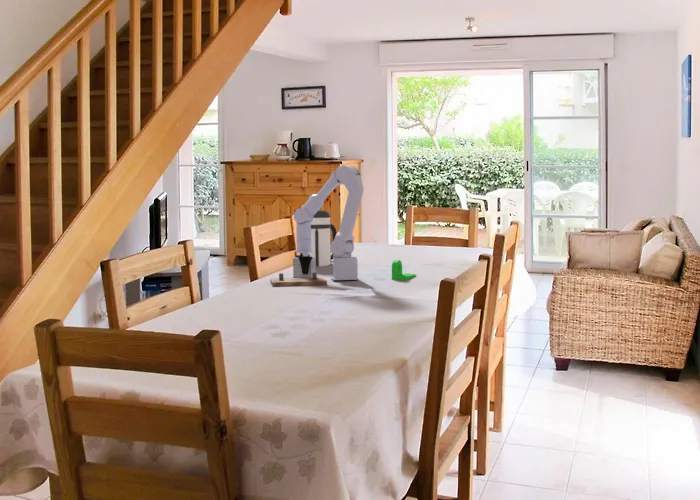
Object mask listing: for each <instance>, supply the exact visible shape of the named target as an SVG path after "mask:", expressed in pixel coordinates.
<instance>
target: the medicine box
mask: <svg viewBox="0 0 700 500" xmlns="http://www.w3.org/2000/svg"><path fill="white" fill-rule="evenodd" d="M313 273H316V266H315V258H312V260H311V262H310V266H309V272H308V274H302V269H301V264H300V261H299V258H298V257H293V259H292V274H293V275H292V276H293V277H292V278H294V277H295V278H313Z"/></svg>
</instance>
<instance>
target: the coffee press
mask: <svg viewBox="0 0 700 500" xmlns="http://www.w3.org/2000/svg"><path fill="white" fill-rule="evenodd" d="M331 218H332V215H331V214H330V212H329V211H328V210H325V209H319V210H318V211H317V212H316V214H315V215H314V217H313V220H312V222H311V250H312V252H311V253H308V254H309V255H310V257H312V258H315V267H316V266H319V267H326V266H330V265H332V261H333V254H332V253H331V250H330V246H331V243H332V242H333V241H334V239H335V236H336V234H337V233H338V232H337V229H336V227H335V225H334V224H331ZM331 236H332V237H331Z"/></svg>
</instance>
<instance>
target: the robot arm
mask: <svg viewBox="0 0 700 500" xmlns="http://www.w3.org/2000/svg"><path fill="white" fill-rule="evenodd" d="M341 185H343V186H344V187H345V188H346V190H347V191H348V192H347V198H346V202H345V205H344V209H343V214H342V217H341V222H340V226H339V229H338V232H336V233H337V234H336V236H335V239H334V241H333V240H332V241H331V245H330V254H331V255H332V254H333V259H332V272H333V273H332V277H330V279H331V280H333V281H353V280H354V281H355V280H356V281H357V280H359V277H358V276H359V275H358V274H359V273H358V269H359V268H358V267H359V266H358V265H359V264H358V257H357V256H353V255H352V253H353V252H354V250H355V244H354V240H355V236H354V235H353V233H354V229H355V224H356V221H357V218H358V213H359V209H360V206H361V205H360V204H361V201H362V198H363V193H364V186H363V180H362V173H361V171H360V170H359V169H358V168H357V167H356V166H354V165H351V166H350V165H346V164H345V165H344V164H343V165H339V166H338V167H337V168H336V170H334V171H333V172H332V174H331V175H330V177H329V178H328V179H327V181H326V182H325V183H324V185H323V186H322V187H321V188H320V189H319V191H318V192H317V193H316V194H312V195H309V196H308V199H307V200H306V201H305V203H304V204H302V205H301V206H300V207H301V208H297V209H295V212H294V213H293V220H294V221H295V222H296V249H294V250H293V252H294V253H296V254H297V255H295V258H297V257H298V258H299V261H300V264H301V269H302V274H308V272H309V266H310V262H311V260H312V257H310V255H309V254H308V253H311V252H312V250H311V222H312V220H313V217H314V215H315V214H316V212H317V211H318V210H321V208H322V207H323V205H325V199H326V198H327V197H328V196H329V195H330V194H331V192H333V191H334V189H336V188H337V187H338V186H341Z"/></svg>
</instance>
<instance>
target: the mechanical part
mask: <svg viewBox="0 0 700 500" xmlns="http://www.w3.org/2000/svg"><path fill="white" fill-rule="evenodd" d="M402 263H403V262H402V261H401V260H400V259H395V260H394V259H393V261H392V263H391V280H393V281H394V280H395V281H405V282H406V281H408V280H411V279H413V278H415V277H416V275H417V274H416V273H406V272H404V273H403V264H402Z"/></svg>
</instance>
